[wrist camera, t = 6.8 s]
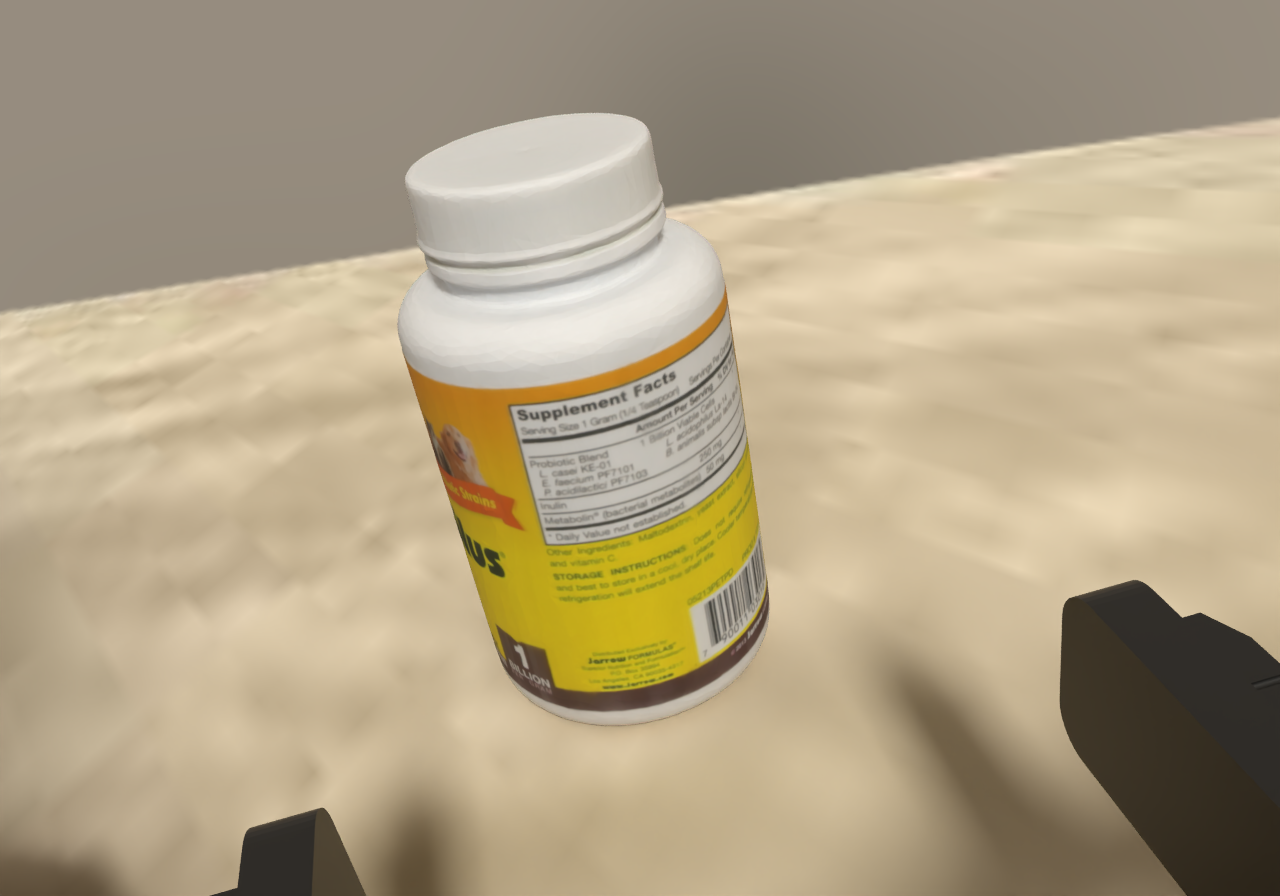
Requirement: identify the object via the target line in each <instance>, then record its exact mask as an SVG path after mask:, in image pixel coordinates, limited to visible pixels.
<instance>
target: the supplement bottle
mask: <svg viewBox="0 0 1280 896" xmlns="http://www.w3.org/2000/svg"><path fill="white" fill-rule="evenodd" d="M405 186H406V190H407V193H408V197H409V201H410V205H411V209H412V213H413V217H414V220H415V224H416V229H417V244H418V246H419V248H420V249H421V251H422V252H423V253H424V254H425V260H426V264H427V267H428V269H427V270H426V271H425V272H424V273H423V274H422V275H421V276H420V277H419V278H418V279H417V280H416V281H415V282H414V283H413V284H412V286H411V287H410V289H409V290H408V292H407V294H406V295H405V297H404V299H403V302H402V304H401V307H400V311H399V316H398V334H399V339H400V342H401V346H402V351H403V355H404V358H405V361H406V364H407V367H408V370H409V373H410V377H411V380H412V383H413V386H414V389H415V393H416V396H417V399H418V402H419V405H420V408H421V411H422V415H423V418H424V421H425V424H426V427H427V430H428V433H429V437H430V440H431V443H432V447H433V450H434V453H435V456H436V460H437V463H438V466H439V469H440V472H441V476H442V479H443V482H444V485H445V488H446V491H447V494H448V497H449V500H450V503H451V506H452V509H453V513H454V517H455V520H456V523H457V526H458V530H459V533H460V536H461V538H462V541H463V545H464V548H465V551H466V555H467V558H468V561H469V564H470V568H471V571H472V574H473V577H474V580H475V584H476V587H477V590H478V593H479V596H480V600H481V603H482V606H483V609H484V612H485V615H486V618H487V621H488V624H489V627H490V630H491V633H492V637H493V640H494V643H495V646H496V649H497V652H498V654H499V657H500V660H501V663H502V665H503V667H504V669H505V671H506V673H507V675H508V676H509V678H510V679H511V681H512V682H513V684H514V685H515V686H516V687H517V688H518V689H519V691H520V692H521V693H522V694H523V695H524V696H526V697H527V698H528V699H529V700H531V701H532V702H533V703H534V704H536V705H538V706H539V707H541V708H543V709H545V710H546V711H548V712H550V713H552V714H555V715H557V716H560V717H562V718H565V719H568V720H572V721H577V722H581V723H586V724H595V725H610V726H612V725H633V724H640V723H646V722H651V721H655V720H659V719H664V718H667V717H670V716H673V715H676V714H679V713H681V712H684V711H686V710H689V709H691V708H694V707H695V706H697V705H699V704H701V703H703V702H705V701H707V700H708V699H710V698H712V697H713V696H715V695H716V694H718V693H719V692H721V691H722V690H724V689H725V688H726V687H727V686H729V685H730V684H731V683H732V682H733V681H734V680H735V679H736V678H737V677H738V676H740V675H741V674H742V672H743V671H744V670H745V669H746V668H747V666H748V665H749V664H750V663H751V661H752V660H753V658H754V657H755V655H756V653H757V652H758V650H759V648H760V646H761V644H762V642H763V639H764V636H765V633H766V630H767V626H768V620H769V593H768V582H767V576H766V569H765V561H764V554H763V547H762V539H761V532H760V525H759V518H758V511H757V503H756V496H755V489H754V482H753V474H752V467H751V460H750V452H749V445H748V438H747V432H746V425H745V417H744V409H743V402H742V395H741V387H740V380H739V374H738V367H737V361H736V355H735V348H734V341H733V334H732V327H731V320H730V313H729V307H728V300H727V293H726V285H725V281H724V278H723V273H722V268H721V264H720V260H719V258H718V256H717V253H716V252H715V250H714V248H713V246H712V245H711V244H710V243H709V242H708V241H707V239H706V238H705V237H703V236H702V235H701V234H700V233H699V232H697V231H696V230H694V229H693V228H691V227H689V226H687V225H685V224H683V223H681V222H678V221H676V220H673V219H670V218H666V211H665V208H664V204H663V202H662V198H663V190H662V186H661V185H660V183H659V180H658V174H657V169H656V164H655V159H654V153H653V147H652V141H651V135H650V132H649V130H648V128H647V127H646V126H645V125H644V124H643V123H642V122H641V121H639V120H637V119H635V118H631V117H629V116H624V115H617V114H607V113H579V114H566V115H556V116H548V117H542V118H536V119H531V120H526V121H521V122H516V123H512V124H508V125H503V126H499V127H495V128H492V129H488V130H485V131H481V132H479V133H476V134H472V135H470V136H466V137H464V138H461V139H458V140H456V141H453V142H451V143H449V144H447V145H445V146H442V147H440V148H438V149H436V150H434V151H432V152H431V153H429V154H427V155H425V156H424V157H422V158H421V159H419V160H418V161H417V162H416V163H414V164H413V165H412V166H411V167H410V169H409V171H408V172H407V174H406V177H405Z"/></svg>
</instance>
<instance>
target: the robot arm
mask: <svg viewBox="0 0 1280 896" xmlns="http://www.w3.org/2000/svg"><path fill="white" fill-rule="evenodd" d="M1060 709H1061V714H1062V719H1063V722H1064V726H1065V729H1066V731H1067V734H1068V736H1069V739H1070V741H1071V743H1072V745H1073V747H1074V749H1075V750H1076V752H1077V754H1078V755H1079V757H1080V758H1081V760H1082V761H1083V762H1084V764H1085V765H1086V766H1087V768H1088V769H1089V770H1090V771H1091V773H1092V774H1093V775H1094V777H1095V778H1096V779H1097V780H1098V782H1099V783H1100V784H1101V786H1102V787H1103V788H1104V789H1105V791H1106V792H1107V793H1108V795H1109V796H1110V797H1111V798H1112V800H1113V801H1114V802H1115V804H1116V805H1117V806H1118V807H1119V809H1120V810H1121V811H1122V813H1123V814H1124V815H1125V816H1126V818H1127V819H1128V820H1129V822H1130V823H1131V824H1132V825H1133V827H1134V828H1135V829H1136V831H1137V832H1138V833H1139V835H1140V836H1141V837H1142V838H1143V840H1144V841H1145V842H1146V844H1147V845H1148V846H1149V847H1150V849H1151V850H1152V851H1153V853H1154V854H1155V855H1156V856H1157V858H1158V859H1159V860H1160V862H1161V863H1162V864H1163V865H1164V867H1165V868H1166V869H1167V871H1168V872H1169V873H1170V874H1171V876H1172V877H1173V878H1174V880H1175V881H1176V882H1177V883H1178V885H1179V886H1180V887H1181V889H1182V890H1183V891H1184V893H1185V894H1186V895H1187V896H1280V663H1279V662H1278V661H1277V660H1276V659H1274V658H1273V657H1272V656H1271V655H1270V654H1269V653H1268V652H1267V651H1266V650H1264V649H1263V648H1262V647H1261V646H1260V645H1259V644H1258V643H1257V642H1256V641H1254V640H1253V639H1252V638H1251V637H1249V636H1247V635H1245V634H1243V633H1241V632H1239V631H1237V630H1235V629H1233V628H1231V627H1229V626H1227V625H1225V624H1223V623H1220V622H1218V621H1216V620H1214V619H1212V618H1210V617H1208V616H1206V615H1204V614H1202V613H1197V614H1194V615H1190V616H1187V617H1183V618H1182V617H1181V616H1180V615H1179V614H1178V613H1177V612H1176V611H1174V610H1173V609H1172V608H1171V607H1170V606H1169V605H1168V604H1167V603H1166V602H1165V601H1164V600H1163V599H1162V598H1161V597H1160V596H1159V595H1158V594H1157V593H1156V592H1155V591H1154V590H1153V589H1151V588H1150V587H1149V586H1148V585H1146V584H1145V583H1143V582H1141V581H1138V580H1132V581H1128V582H1125V583H1121V584H1118V585H1114V586H1111V587H1107V588H1104V589H1100V590H1096V591H1093V592H1089V593H1086V594H1082V595H1079V596H1075V597H1072V598H1069V599H1068V600H1067V601H1066V603H1065V604H1064V608H1063V614H1062V642H1061V674H1060ZM211 896H366V894H365V892H364V890H363V888H362V885H361V883H360V881H359V879H358V876H357V874H356V872H355V870H354V868H353V865H352V863H351V861H350V859H349V856H348V854H347V852H346V850H345V847H344V845H343V843H342V841H341V839H340V836H339V834H338V832H337V830H336V827H335V825H334V823H333V821H332V819H331V817H330V815H329V813H328V812H327V811H326V810H325V809H324V808H319V809H315V810H312V811H308V812H305V813H301V814H298V815H294V816H291V817H287V818H284V819H280V820H277V821H273V822H270V823H266V824H262V825H259V826H255V827H252V828H249V829H248V830H247V832H246V834H245V837H244V841H243V847H242V855H241V863H240V872H239V880H238V888H235V889H232V890H228V891H225V892H221V893H218V894H214V895H211Z"/></svg>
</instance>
